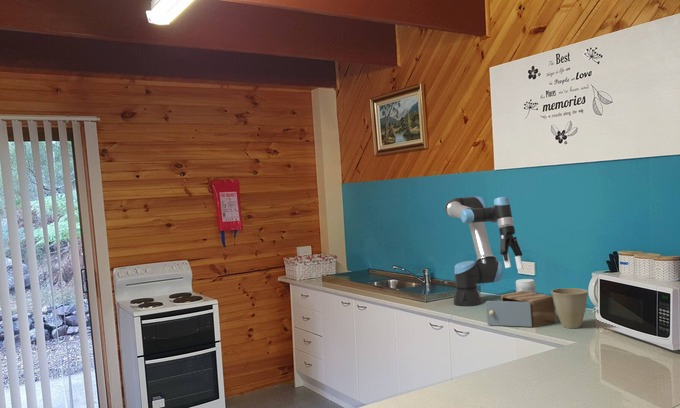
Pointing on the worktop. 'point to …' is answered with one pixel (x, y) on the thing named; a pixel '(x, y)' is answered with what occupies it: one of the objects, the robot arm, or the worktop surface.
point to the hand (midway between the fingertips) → (514, 268)
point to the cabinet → (535, 306)
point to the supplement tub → (525, 285)
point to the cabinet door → (509, 313)
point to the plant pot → (570, 306)
